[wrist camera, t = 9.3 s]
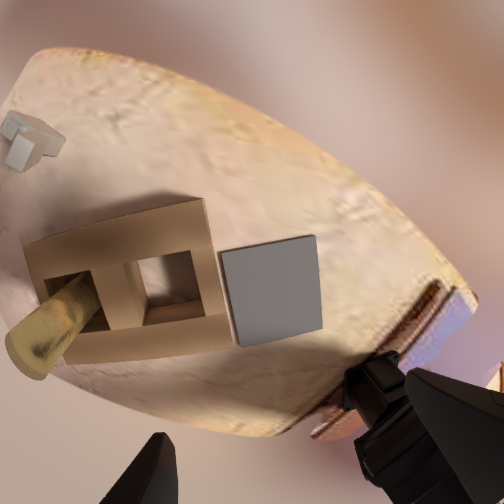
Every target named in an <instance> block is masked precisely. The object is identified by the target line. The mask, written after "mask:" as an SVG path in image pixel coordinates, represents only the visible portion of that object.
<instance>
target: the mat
mask: <svg viewBox="0 0 504 504" xmlns="http://www.w3.org/2000/svg"><path fill="white" fill-rule="evenodd" d="M221 254H222V259H223V265H224V270H225V275H226V280H227V285H228V290H229V294H230V299H231V304H232V309H233V314H234V318H235V323H236V328H237V332H238V337H239V341H240V346H241V348H242V347H247V346H252V345H257V344H261V343H266V342H271V341H275V340H280V339H284V338H288V337H292V336H296V335H300V334H304V333H308V332H312V331H316V330H319V329H323V326H322V307H321V292H320V278H319V266H318V255H317V245H316V236H315V235H313V236H307V237H302V238H297V239H291V240H286V241H280V242H275V243H270V244H264V245H259V246H254V247H248V248H243V249H238V250H232V251H227V252H222V253H221Z"/></svg>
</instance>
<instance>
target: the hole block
mask: <svg viewBox="0 0 504 504" xmlns="http://www.w3.org/2000/svg"><path fill="white" fill-rule="evenodd" d="M23 250H24V254H25V258H26V261H27V265H28V268H29V272H30V275H31V278H32V281H33V285H34V288H35V291H36V293H37V296H38V299H39V302H40V305H41V304H42V303H44V302H45V301H46V300H47V299H49V298H50V297H51V296H52V295H54V294H55V293H56V292H57V291H59V290H60V289H61V288H63V287H64V286H65V285H67V283H66V280H65V277H64V275H68V274H73V273H78V272H83V271H87V270H91V274H92V277H93V280H94V284H95V287H96V290H97V293H98V296H99V299H100V302H101V305H102V307H103V310H104V313H105V315H99V316H92V317H91V319H90V320H89V321H88V322H87V324H86V325H85V326H84V327H83V329H82V330H81V331H80V332H79V334H78V335H77V336H76V337H75V339H74V340H73V341H72V342H71V344H70V345H69V346H68V348H67V349H66V350H65V352H64V353H63V354H62V355H63V357H64V359H65V361H66V363H67V365H68V364H97V363H113V362H126V361H138V360H148V359H157V358H165V357H173V356H181V355H188V354H194V353H201V352H207V351H213V350H219V349H225V348H230V347H233V346H232V338H231V331H230V325H229V320H228V316H227V312H226V307H225V302H224V298H223V293H222V288H221V284H220V279H219V274H218V269H217V264H216V259H215V254H214V249H213V244H212V239H211V234H210V229H209V223H208V218H207V213H206V207H205V201H204V199H199V200H194V201H189V202H184V203H179V204H174V205H169V206H165V207H160V208H156V209H151V210H147V211H143V212H138V213H134V214H130V215H126V216H122V217H118V218H114V219H110V220H106V221H102V222H99V223H95V224H91V225H87V226H84V227H80V228H77V229H73V230H70V231H66V232H63V233H60V234H56V235H53V236H50V237H46V238H43V239H41V240H38V241H35V242H33V243H30V244H28V245H25V246H23ZM186 250H190V251H191V256H192V260H193V265H194V269H195V273H196V278H197V282H198V286H199V290H200V295H201V299H200V300H195V301H189V302H183V303H177V304H172V305H166V306H159V307H153V308H151V307H150V304H149V301H148V297H147V294H146V291H145V287H144V284H143V280H142V277H141V273H140V269H139V265H138V262H137V260H141V259H146V258H151V257H156V256H161V255H166V254H171V253H176V252H181V251H186Z"/></svg>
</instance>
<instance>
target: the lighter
mask: <svg viewBox="0 0 504 504" xmlns="http://www.w3.org/2000/svg"><path fill="white" fill-rule="evenodd" d="M0 132H1V133H2V134H3V135H4V136H5V137H6V138H7V139H8V140H10V141H11V142H12V143H13V144H12V146H11V148H10V151H9V153H8V155H7V157H6V160H5V164H6V165H8V166H9V167H11V168H13V169H14V170H16V171H18V172H20V173H21V174H22V173H23V172H25V171H26V170H28V169H29V168H31V167H32V166H34V165H35V164H37V163H38V162H39V161H40V159H41V157H42V155H46V156H54V157H55V156H57V155H58V153H59V151H60V149H61V147H62V146H63V144H64V142H65V140H66V139H65V137H64V136H63V135H61V134H60V133H59V132H57V131H56V130H54V129H53V128H52V127H50V126H49V125H47V124H46V123H45V122H43V121H42V120H40V119H38V118H35V117H32V116H29V115H25V114H22V113H19V112H16V111H13V110H10V111H8V113H7V115H6V117H5V119H4V121H3V122H2V125H1V127H0Z"/></svg>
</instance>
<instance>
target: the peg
mask: <svg viewBox="0 0 504 504" xmlns="http://www.w3.org/2000/svg"><path fill="white" fill-rule="evenodd" d="M100 307H101V302H100V299H99V296H98V293H97V290H96V287H95V284H94V280H93V277H92V274H91V271H86V272H83V273H81V274H80V275H78V276H77V277H76V278H74V279H73V280H72V281H70V282H69V283H68V284H67V285H65V286H64V287H63V288H61V289H60V290H59V291H57V292H56V293H55V294H54V295H52V296H51V297H50V298H49V299H47V300H46V301H45V302H44V303H42V304H41V305H40V306H39V307H38V308H36V309H35V310H34V311H33V312H32V313H30V314H29V315H28V316H27V317H26V318H24V319H23V320H22V321H21V322H20V323H19V324H18V325H16V326H15V327H14V328H13V329H12V330H11V331H10V332H9V333H7V335H6V338H5V345H6V349H7V352H8V354H9V356H10V358H11V360H12V361H13V363H14V364H15V366H16V367H17V368H18V369H19V370H20V371H21V372H22V373H24V374H25V375H26V376H28V377H29V378H31V379H34V380H43V379H45V378H46V376H47V375H48V373H49V372H50V371H51V369H52V368H53V366H54V365H55V364H56V362H57V361H58V360H59V358H60V357H61V356H62V354H63V353H64V352H65V350H66V349H67V348H68V346H69V345H70V344H71V342H72V341H73V340H74V339H75V337H76V336H77V335H78V334H79V332H80V331H81V330H82V329H83V327H84V326H85V325H86V324H87V322H88V321H89V320H90V319H91V317H92V316H93V315H94V314H95V313H96V311H97V310H98V309H99V308H100Z"/></svg>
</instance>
